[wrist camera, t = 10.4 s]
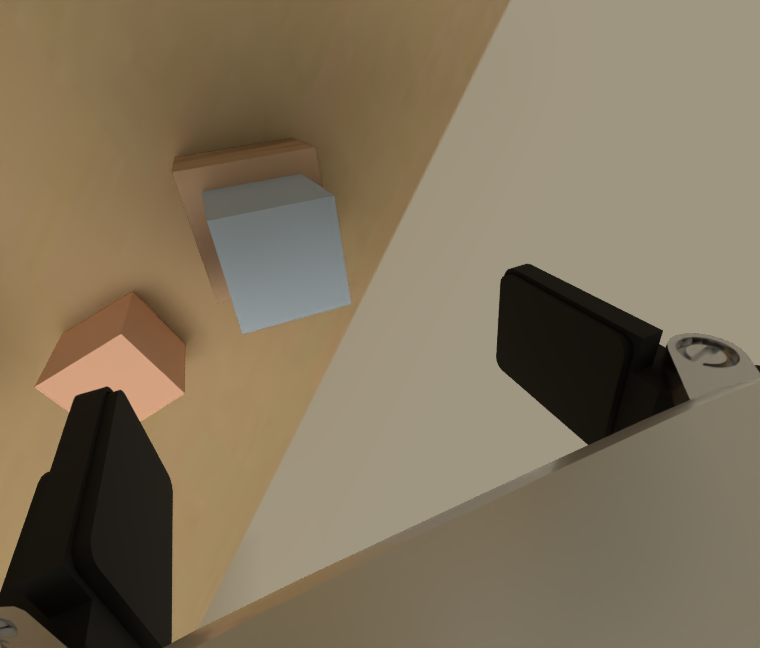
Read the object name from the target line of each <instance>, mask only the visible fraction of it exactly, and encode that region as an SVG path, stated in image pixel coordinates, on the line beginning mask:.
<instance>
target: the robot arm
mask: <svg viewBox="0 0 760 648" xmlns="http://www.w3.org/2000/svg"><path fill="white" fill-rule="evenodd" d="M662 332H663V330H661V329H659V328H657V327H655V326H653V325H651V324H649V323H647V322H645V321H643V320H641V319H639V318H637V317H635V316H633V315H631V314H629V313H627V312H625V311H623V310H621V309H618V308H616V307H615V306H613V305H611V304H609V303H607V302H605V301H603V300H601V299H598V298H596V297H594V296H592V295H591V294H589V293H587V292H585V291H582V290H581V289H579V288H577V287H575V286H573V285H571V284H569V283H567V282H564V281H563V280H561V279H559V278H556V277H555V276H553V275H551V274H549V273H547V272H545V271H543V270H541V269H539V268H537V267H534V266H533V265H530V264H525V265H521V266H518V267H515V268H511V269H508V270H507V271H506V273H505V275H504V276H503V277H502V279H501V284H500V302H499V318H498V336H497V353H496V358H497V363H498V365H499V367H500V368H501V369H502V371H504V372H505V373H506V374H507V375H508V376H509V377H511V378H512V379H513V380H514V381H515V382H516V383H517V384H519V385H520V386H521V387H522V388H523V389H524V390H526V391H527V392H528V393H529V394H530V395H531V396H532V397H534V398H535V399H536V400H537V401H538V402H539V403H540V404H542V405H543V406H544V407H545V408H546V409H547V410H549V411H550V412H551V413H552V414H553V415H554V416H556V417H557V418H558V419H559V420H560V421H561V422H562V423H564V424H565V425H566V426H567V427H568V428H569V429H571V430H572V431H573V432H574V433H575V434H576V435H577V436H579V437H580V438H581V439H582V440H583V441H584V442H585V443H587V444H588V446H585V447H583V448H581V449H579V450H577V451H575V452H573V453H570V454H568V455H566V456H564V457H561V458H559V459H557V460H555V461H553V462H550V463H548V464H546V465H544V466H542V467H540V468H537V469H535V470H533V471H531V472H529V473H527V474H524V475H522V476H520V477H518V478H516V479H514V480H512V481H510V482H507V483H505V484H503V485H501V486H499V487H496V488H495V489H492V490H490V491H488V492H486V493H483V494H481V495H479V496H477V497H475V498H473V499H471V500H468V501H466V502H464V503H462V504H460V505H458V506H455V507H453V508H451V509H449V510H447V511H445V512H443V513H440V514H438V515H436V516H434V517H432V518H430V519H428V520H426V521H423V522H421V523H419V524H417V525H415V526H413V527H411V528H408V529H406V530H404V531H402V532H400V533H398V534H396V535H393V536H391V537H389V538H387V539H385V540H383V541H381V542H379V543H376V544H375V545H372V546H370V547H368V548H366V549H364V550H362V551H359V552H357V553H356V554H353V555H351V556H349V557H347V558H345V559H342V560H340V561H339V562H336V563H334V564H332V565H330V566H328V567H325V568H323V569H321V570H319V571H317V572H315V573H313V574H311V575H308V576H307V577H304V578H302V579H300V580H298V581H296V582H294V583H292V584H290V585H287V586H285V587H284V588H281V589H279V590H277V591H275V592H273V593H271V594H269V595H267V596H265V597H263V598H261V599H259V600H257V601H255V602H253V603H251V604H249V605H247V606H245V607H242V608H240V609H239V610H236V611H234V612H232V613H230V614H228V615H226V616H224V617H222V618H220V619H218V620H216V621H214V622H212V623H210V624H208V625H206V626H204V627H202V628H200V629H198V630H195V631H194V632H192V633H190V634H188V635H186V636H184V637H182V638H181V639H179V640H177V641H175V642H173V643H171V641H172V516H173V490H172V484H171V480H170V477H169V475H168V473H167V471H166V469H165V467H164V466H163V464H162V462H161V460H160V458H159V456H158V454H157V452H156V451H155V449H154V447H153V445H152V443H151V441H150V439H149V438H148V436H147V434H146V432H145V430H144V428H143V426H142V425H141V423H140V421H139V419H138V417H137V415H136V413H135V411H134V410H133V408H132V406H131V404H130V402H129V400H128V398H127V397H126V395H125V393H124V392H123V391H122V390H117V391H114V392H113V390H112V389H111V388H110V387H108V386H106V387H103V388H100V389H96V390H93V391H89V392H86V393H82V394H79V395H76V396H75V397H74V399H73V402H72V405H71V409H70V412H69V415H68V418H67V421H66V424H65V427H64V430H63V433H62V436H61V439H60V442H59V445H58V448H57V451H56V454H55V457H54V461H53V464H52V467H51V470H50V472H47V473H45V474H44V475H43V476H42V477H41V479H40V481H39V483H38V485H37V488H36V491H35V494H34V497H33V499H32V502H31V505H30V508H29V511H28V514H27V517H26V520H25V523H24V525H23V528H22V531H21V534H20V537H19V540H18V543H17V546H16V548H15V551H14V554H13V557H12V560H11V563H10V566H9V569H8V572H7V574H6V577H5V580H4V583H3V586H2V589H1V592H0V648H760V366H758V365H754V364H753V362H752V361H751V359H750V358H749V357H748V355H747V354H746V353H745V352H744V351H743V350H742V349H741V348H739V347H738V346H736V345H734V344H733V343H731V342H729V341H726V340H724V339H721V338H717V337H714V336H710V335H705V334H696V333H691V334H690V333H686V334H680V335H676V336H674V337H672V338H670V340H669V341H668V343H667V346H666V348H665V347H663V346H662V345H660V344H659V342H660V339H661V335H662Z"/></svg>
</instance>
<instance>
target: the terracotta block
mask: <svg viewBox="0 0 760 648" xmlns="http://www.w3.org/2000/svg"><path fill="white" fill-rule="evenodd" d="M106 386H108V387H110V388H111V389H112V390H113V392H114V391H117V390H122V391H123V392H124V393H125V395H126V397H127V398H128V400H129V402H130V404H131V406H132V408H133V410H134V411H135V413H136V415H137V417H138V419H139V421H140V422H141V421H142V420H144V419H146V418H147V417H149V416H150V415H152V414H153V413H155V412H157V411H158V410H160V409H161V408H163V407H164V406H166V405H168V404H169V403H171V402H172V401H174V400H175V399H177V398H179V397H180V396H182V395H183V394H185V344H184V343H183V342H182V341H181V340H180V339H179V338H178V337H177V336H176V335H175V334H174V333H173V332H172V331H171V330H170V329H169V328H168V327H167V326H166V325H165V324H164V323H163V322H162V321H161V320H160V318H159V317H158V316H157V315H156V314H155V313H154V312H153V311H152V310H151V309H150V308H149V307H148V306H147V305H146V304H145V303H144V302H143V301H142V300H141V299H140V298H139V297H138V296H137V295H136V294H135V293H134V292H133V291H132V292H131V293H129V294H127V295H126V296H124V297H122V298H121V299H119V300H117V301H116V302H114V303H112V304H111V305H109V306H108V307H106V308H104V309H103V310H101V311H99V312H98V313H96V314H94V315H93V316H91V317H89V318H88V319H86V320H84V321H83V322H81V323H79V324H78V325H76V326H75V327H73V328H71V329H70V330H68V331H66V332H65V333H63V334H62V335H61V337H60V339H59V341H58V343H57V345H56V347H55V349H54V351H53V353H52V354H51V356H50V358H49V360H48V362H47V364H46V366H45V368H44V370H43V372H42V374H41V375H40V377H39V379H38V381H37V383H36V385H35V388H36V389H38V390H39V391H40V392H42V393H43V394H45V395H46V396H47V397H49V398H50V399H51V400H53V401H54V402H56V403H57V404H58V405H60V406H61V407H62V408H64V409H65V410H67V411H68V412H70V409H71V405H72V402H73V399H74V397H75V396H76V395H79V394H82V393H86V392H89V391H93V390H96V389H100V388H103V387H106Z"/></svg>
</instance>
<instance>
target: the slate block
mask: <svg viewBox="0 0 760 648" xmlns="http://www.w3.org/2000/svg"><path fill="white" fill-rule="evenodd" d="M202 196H203V202H204V208H205V213H206V219H207V223H208V226H209V229H210V232H211V236H212V239H213V242H214V245H215V248H216V251H217V255H218V258H219V261H220V264H221V267H222V270H223V274H224V277H225V280H226V283H227V286H228V290H229V293H230V296H231V299H232V302H233V305H234V309H235V312H236V315H237V318H238V321H239V325H240V328H241V331H242V334H245V333H249V332H253V331H256V330H260V329H263V328H267V327H271V326H274V325H278V324H281V323H285V322H289V321H292V320H296V319H299V318H303V317H307V316H310V315H314V314H317V313H321V312H325V311H328V310H332V309H335V308H339V307H343V306H346V305H350V304H351V300H350V293H349V287H348V280H347V274H346V267H345V261H344V254H343V248H342V242H341V235H340V229H339V222H338V216H337V209H336V203H335V196H334V195H333V194H331V193H330V192H328V191H327V190H325V189H324V188H322V187H321V186H319V185H318V184H316V183H314V182H313V181H311V180H310V179H308V178H307V177H305V176H304V175H302V174H297V175H292V176H286V177H280V178H275V179H269V180H264V181H258V182H253V183H247V184H241V185H236V186H230V187H225V188H219V189H214V190H208V191H203V192H202Z"/></svg>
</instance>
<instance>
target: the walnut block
mask: <svg viewBox="0 0 760 648" xmlns="http://www.w3.org/2000/svg"><path fill="white" fill-rule="evenodd" d="M172 174H173V177H174V180H175V183H176V186H177V188H178V191H179V194H180V197H181V200H182V203H183V206H184V209H185V211H186V214H187V217H188V220H189V223H190V226H191V229H192V232H193V235H194V237H195V240H196V243H197V246H198V249H199V252H200V255H201V258H202V260H203V263H204V266H205V269H206V272H207V275H208V278H209V281H210V283H211V286H212V289H213V292H214V295H215V298H216V301H217V303H221V302H225V301H229V300H232V299H231V296H230V293H229V290H228V286H227V283H226V280H225V277H224V274H223V270H222V267H221V264H220V261H219V258H218V255H217V251H216V248H215V245H214V242H213V239H212V236H211V232H210V229H209V226H208V223H207V219H206V213H205V208H204V202H203V196H202V192H203V191H208V190H214V189H219V188H225V187H230V186H236V185H241V184H247V183H253V182H258V181H264V180H269V179H275V178H280V177H286V176H292V175H297V174H302V175H304V176H305V177H307V178H308V179H310V180H311V181H313V182H314V183H316V184H318V185H319V186H321V187H322V181H321V176H320V170H319V164H318V159H317V153H316V147H313V146H311V145H308V144H306V143H303V142H301V141H298V140H296V139H293V138H289V139H283V140H277V141H271V142H265V143H259V144H253V145H247V146H241V147H235V148H229V149H223V150H217V151H211V152H204V153H198V154H192V155H186V156H180V157H175V158H174V163H173V169H172ZM322 188H323V187H322Z"/></svg>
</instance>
